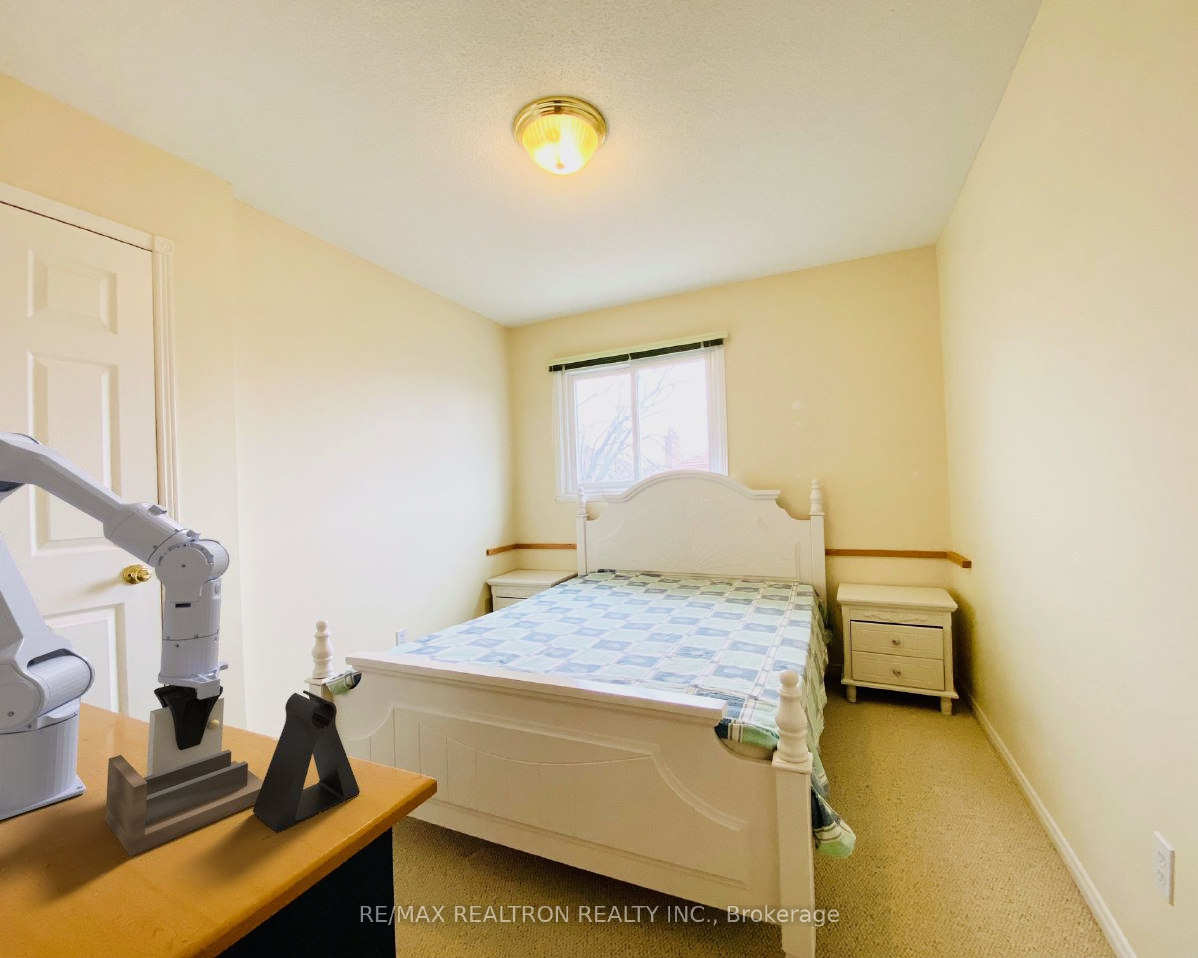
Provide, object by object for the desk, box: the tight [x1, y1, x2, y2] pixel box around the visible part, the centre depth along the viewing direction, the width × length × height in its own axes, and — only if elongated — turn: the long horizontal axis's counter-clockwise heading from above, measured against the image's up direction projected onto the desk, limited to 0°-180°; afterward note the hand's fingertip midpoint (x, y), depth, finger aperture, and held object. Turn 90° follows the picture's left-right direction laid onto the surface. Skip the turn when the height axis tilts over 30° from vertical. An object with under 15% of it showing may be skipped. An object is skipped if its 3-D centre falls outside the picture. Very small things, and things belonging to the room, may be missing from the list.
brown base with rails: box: [105, 749, 264, 858], centre depth 56 cm, size 10×12×6 cm
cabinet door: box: [145, 694, 225, 777], centre depth 63 cm, size 3×7×8 cm, turn 145°
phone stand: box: [252, 690, 361, 834], centre depth 58 cm, size 9×6×12 cm, turn 144°
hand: (186, 744), depth 63 cm, fingers closed on cabinet door, 2 cm apart
